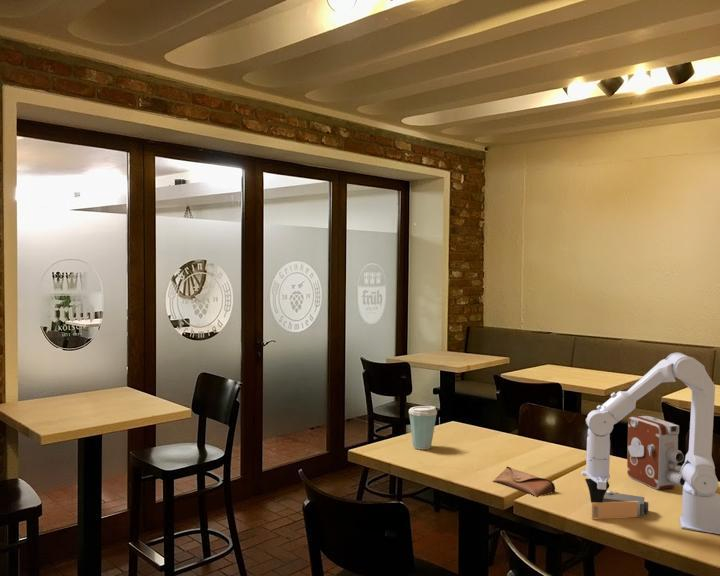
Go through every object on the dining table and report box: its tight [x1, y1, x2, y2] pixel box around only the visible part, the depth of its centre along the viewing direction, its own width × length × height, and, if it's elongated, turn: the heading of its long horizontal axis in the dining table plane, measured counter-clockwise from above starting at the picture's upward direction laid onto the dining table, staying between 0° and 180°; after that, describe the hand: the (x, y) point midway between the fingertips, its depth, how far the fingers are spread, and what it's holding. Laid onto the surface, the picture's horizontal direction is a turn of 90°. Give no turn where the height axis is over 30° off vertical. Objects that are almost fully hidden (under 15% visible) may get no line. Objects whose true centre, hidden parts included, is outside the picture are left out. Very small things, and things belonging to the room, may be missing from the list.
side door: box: [590, 501, 641, 520], centre depth 163 cm, size 14×1×4 cm, turn 97°
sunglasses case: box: [491, 466, 556, 498], centre depth 187 cm, size 18×7×7 cm
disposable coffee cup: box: [408, 405, 438, 450], centre depth 229 cm, size 11×11×15 cm
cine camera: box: [626, 415, 685, 490], centre depth 189 cm, size 9×19×20 cm, turn 15°
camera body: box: [603, 490, 649, 518], centre depth 169 cm, size 12×6×4 cm, turn 65°
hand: (596, 507), depth 164 cm, fingers closed
